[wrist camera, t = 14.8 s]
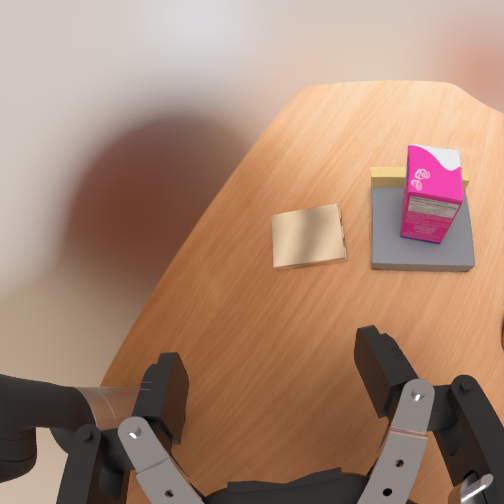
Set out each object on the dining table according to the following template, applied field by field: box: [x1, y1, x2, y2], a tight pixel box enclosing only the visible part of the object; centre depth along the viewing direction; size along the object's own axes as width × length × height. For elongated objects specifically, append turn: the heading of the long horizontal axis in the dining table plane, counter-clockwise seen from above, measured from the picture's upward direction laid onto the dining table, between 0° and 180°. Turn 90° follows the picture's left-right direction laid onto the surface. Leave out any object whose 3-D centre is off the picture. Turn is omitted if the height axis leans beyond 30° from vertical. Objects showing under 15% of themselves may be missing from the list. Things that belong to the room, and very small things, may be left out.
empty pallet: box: [272, 204, 347, 271], centre depth 38 cm, size 10×8×2 cm
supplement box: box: [400, 144, 464, 244], centre depth 25 cm, size 6×6×12 cm
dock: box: [370, 167, 475, 272], centre depth 30 cm, size 14×12×6 cm
